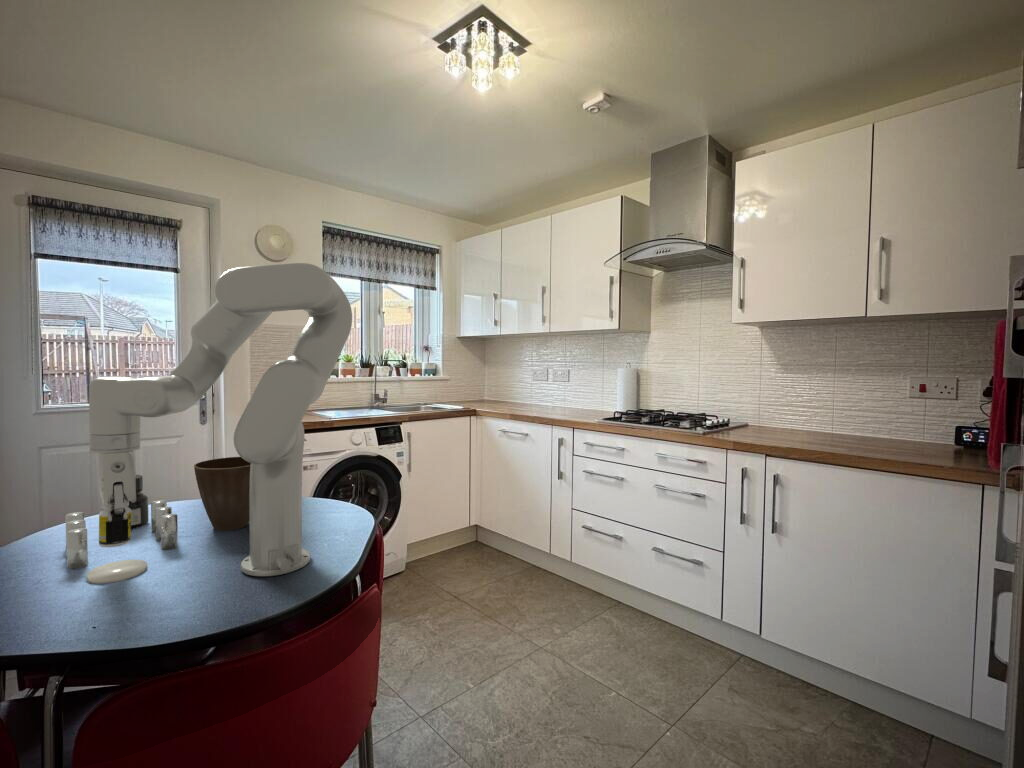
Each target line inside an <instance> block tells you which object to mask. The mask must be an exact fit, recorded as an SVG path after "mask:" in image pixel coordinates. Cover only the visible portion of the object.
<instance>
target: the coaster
mask: <svg viewBox="0 0 1024 768" xmlns="http://www.w3.org/2000/svg"><path fill="white" fill-rule="evenodd" d="M147 569H148V563H147V561H146V560H143V559H124V560H119V561H118V560H117V561H112V562H109V563H105V564H101V565H99V566H97V567H95V568H93V569H91V570H90V571H87V573H86V581H87V582H88V583H90V584H97V585H98V584H111V583H117V582H120V581H121V582H122V581H125V580H129V579H132V578H134V577H137V576H140V575H141V574H143V573H144V572H146V571H147Z"/></svg>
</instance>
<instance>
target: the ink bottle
mask: <svg viewBox="0 0 1024 768" xmlns="http://www.w3.org/2000/svg"><path fill="white" fill-rule="evenodd" d="M135 476H136V501H135V502H134V503H132V502H131V501H129V506H128V508H130V509H131V531H132V530H135V529H138V528H141V527H143V526H146V525H147V524H148V523H149V497H148V496H147V494H144V493H143V490H144V488H143V487H144V486H143V479H144V477H143V475H141V474H135ZM126 498H127V497H126ZM102 510H103V509H102V508H101V511H102Z"/></svg>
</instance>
